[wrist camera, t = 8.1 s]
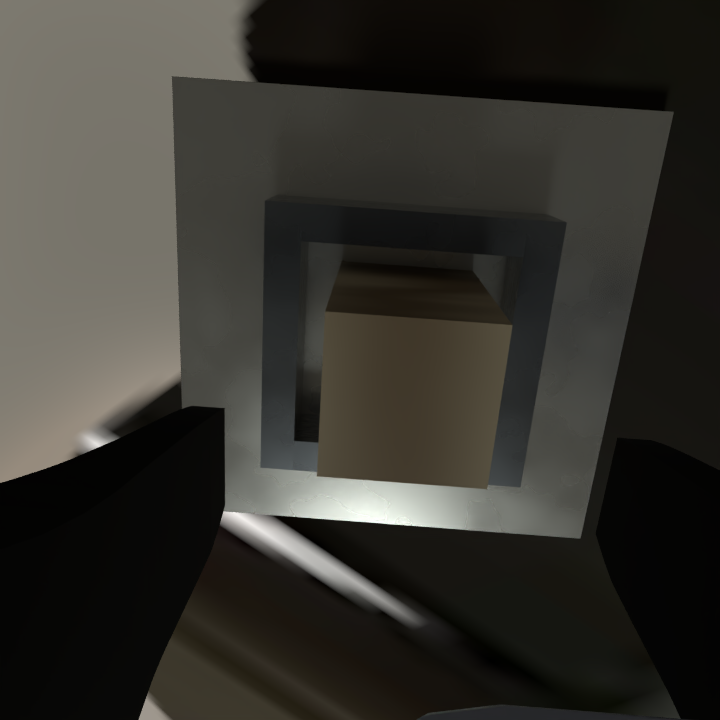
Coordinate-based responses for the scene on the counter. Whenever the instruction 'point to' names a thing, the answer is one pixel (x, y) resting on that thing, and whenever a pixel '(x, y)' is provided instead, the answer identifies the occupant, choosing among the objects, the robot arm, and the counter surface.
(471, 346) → the beige rectangular block
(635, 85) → the counter surface
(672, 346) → the counter surface
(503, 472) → the socket plate
